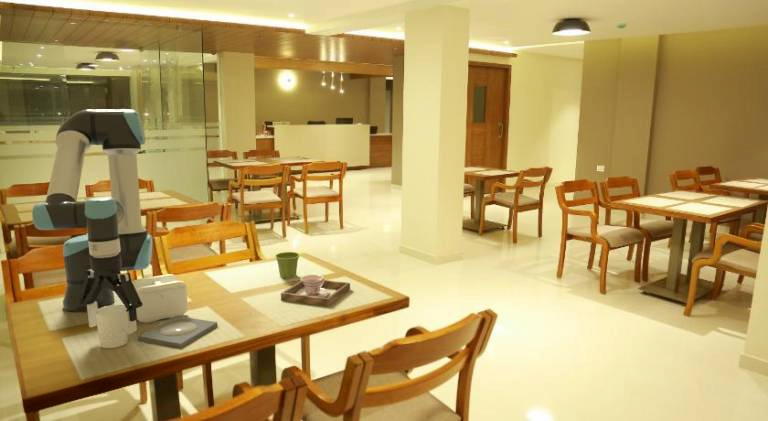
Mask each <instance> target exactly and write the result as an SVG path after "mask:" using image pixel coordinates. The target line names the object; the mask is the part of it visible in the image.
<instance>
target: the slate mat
mask: <svg viewBox="0 0 768 421" xmlns="http://www.w3.org/2000/svg"><path fill="white" fill-rule="evenodd" d="M217 327H218V321H212V320H206V319H201V318H200V319H199V318H193V317H188V316H187V317H186V316H182V315H179V316H176V317H174V318H169V319H168V320H166V321H164V322H162V323H160V324H158V325H157V326H155V327H152V328H151V329H148V330H147V331H145V332H143V333H141V334H139V335H137V340H138V341H141V342H147V343H151V344H157V345H163V346H168V347H169V346H170V347H173V346H174V348H180V349H182V348H183V347H185V346H187V345H189V344H191V343H192V342H193V341H195V340H197V339H198V338H200V337H202V336H203V335H205V334H207V333H208V332H210V331H212V330H213V329H215V328H217ZM181 347H182V348H181Z"/></svg>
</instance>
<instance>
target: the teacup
mask: <svg viewBox="0 0 768 421" xmlns="http://www.w3.org/2000/svg"><path fill="white" fill-rule="evenodd" d="M299 280H300V281H302V282H303V285H304V286H305V287H304V288H302V289H301V290H299V291H297V292H296V293H294V294H300V295H307V296H315V297H323V298H328V297H329V296H330V291H329V290H328V289H326V288H324V287H322V285H323V283H324V280H325V277H324V275H321V274H308V275H304V276H302V277H301V278H299ZM321 282H322V284H321ZM320 284H321V285H320Z"/></svg>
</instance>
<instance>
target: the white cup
mask: <svg viewBox="0 0 768 421" xmlns="http://www.w3.org/2000/svg"><path fill="white" fill-rule="evenodd" d="M125 310H127V308H126V307H125V305H124V304H110V305H108V306H105V307H102V308H99V309H98V310H96V311H95V315H96V322H97V325H96V326H97V327H96V328H97V333H98V337H99V340H100V341H99V343H100V346H101V347H102V349H103V348H104V349H116V348H120V347H122V346H125V345H126V344H127V343H128V341H129V334H128V333H127V329H126V318H125Z"/></svg>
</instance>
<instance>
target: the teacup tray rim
mask: <svg viewBox="0 0 768 421" xmlns="http://www.w3.org/2000/svg"><path fill="white" fill-rule="evenodd" d="M321 284H322V282H321ZM321 284H320V285H321ZM321 288H324V289H326V288H328V289H335V290H336V291H334V292H333V293H332V294H329V295H328V296H327V297H325V298H323V297H315V296H309V295H308V294H306V295H300V294H295V293H296V292H297V291H299V290H302V289H305V286H304V285H303V282H302V281H301V280H300V281H298V282H296V283H294V284H293V285H292V286H290V287H288V288H287V289H285V290H283V291H281V293H280V301H283V302H285V301H286V302H290V303H291V302H293V303H300V304H307V305H308V304H309V305H316V306H323V307H330V306H331V305H332V304H334V303H335V302H336V301H337V300H339V299H340V298H342V297H343V296H344V295H345V294H347V293H348V292H349V291H350V290H351V282H345V281H338V280H337V281H336V280H330V279H329V280H327V279H324V283H323V285H322V287H321Z"/></svg>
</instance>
